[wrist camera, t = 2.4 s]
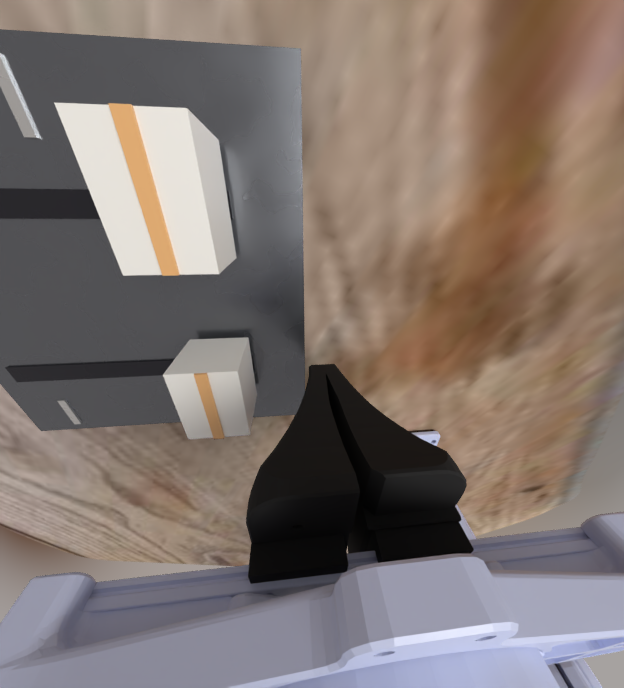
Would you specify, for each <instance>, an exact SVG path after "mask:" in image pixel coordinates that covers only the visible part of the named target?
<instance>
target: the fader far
mask: <svg viewBox="0 0 624 688" xmlns="http://www.w3.org/2000/svg"><path fill="white" fill-rule="evenodd" d="M163 377H164V379H165V382H166V384H167V387H168V389H169V392H170V395H171V397H172V400H173V402H174V405H175V407H176V410H177V412H178V415H179V417H180V420H181V422H182V425H183V427H184V430H185V432H186V435H187V437H188V439H202V438H214V439H224V438H225V437H230V436H244V435H250V433H251V427H252V421H253V415H254V409H255V403H256V397H257V391H256V385H255V378H254V371H253V365H252V358H251V351H250V345H249V338H248V337H244V338H217V339H190V340H189V341H188V342H187V344H186V345H185V346H184V348H183V349H182V350H181V352H180V353H179V354H178V356H177V357H176V358H175V359H174V361H173V362H172V363H171V365H170V366H169V367H168V369H167V370H166V371H165V373H164V374H163Z"/></svg>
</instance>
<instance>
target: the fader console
mask: <svg viewBox="0 0 624 688" xmlns="http://www.w3.org/2000/svg"><path fill="white" fill-rule="evenodd" d="M54 103H77V104H102V105H108V103H116V104H131V105H133V106H151V107H175V108H188V109H189V110H190V112H191V113H192V114H193V115H194V116H195V117H196V118H197V119H198V120H199V121H200V122H201V123H202V124H203V125H204V126H205V127H206V128H207V129H208V130H209V131H210V132H211V133H212V134H213V135H214V136H215V137H216V138H217V139H218V140H219V145H220V152H221V158H222V165H223V172H224V178H225V185H226V192H227V198H228V205H229V212H230V218H231V225H232V232H233V238H234V245H235V252H236V259H235V260H234V261H233V262H232V263H231V264H229V265H228V266H227V267H226V268H225V269H224V270H223V271H222V272H221V273H220V274H193V275H175V276H162V275H127V276H123V274H122V272H121V269H120V267H119V264H118V262H117V259H116V257H115V254H114V252H113V249H112V247H111V244H110V242H109V239H108V237H107V234H106V232H105V229H104V227H103V224H102V222H101V219H100V217H99V214H98V212H97V209H96V206H95V204H94V201H93V199H92V196H91V194H90V191H89V189H88V186H87V184H86V181H85V179H84V176H83V174H82V171H81V169H80V166H79V164H78V161H77V159H76V156H75V154H74V151H73V149H72V146H71V144H70V141H69V139H68V136H67V134H66V131H65V129H64V126H63V124H62V121H61V119H60V116H59V114H58V111H57V109H56V106H55V104H54ZM244 337H248V338H249V345H250V351H251V358H252V365H253V371H254V378H255V385H256V391H257V397H256V403H255V409H254V415H253V417H265V416H281V415H296V413H297V411H298V409H299V406H300V404H301V402H302V399H303V396H304V393H305V350H304V269H303V188H302V107H301V48H285V47H270V46H254V45H238V44H222V43H206V42H191V41H175V40H159V39H143V38H127V37H111V36H96V35H80V34H64V33H48V32H32V31H16V30H1V29H0V384H1V385H2V386H3V387H4V389H5V390H6V391H7V392H8V393H9V394H10V396H11V397H12V398H13V399H14V400H15V401H16V403H17V404H18V405H19V406H20V407H21V408H22V410H23V411H24V412H25V413H26V414H27V415H28V416H29V418H30V419H31V420H32V421H33V422H34V423H35V425H36V426H37V427H38V428H39V429H40V430H41V431H48V430H63V429H79V428H94V427H110V426H125V425H141V424H157V423H172V422H181V420H180V417H179V415H178V412H177V410H176V407H175V405H174V402H173V400H172V397H171V395H170V392H169V389H168V387H167V384H166V382H165V379H164V377H163V374H164V373H165V371H166V370H167V369H168V367H169V366H170V365H171V363H172V362H173V361H174V359H175V358H176V357H177V356H178V354H179V353H180V352H181V350H182V349H183V348H184V346H185V345H186V344H187V342H188V341H189V340H190V339H217V338H244Z"/></svg>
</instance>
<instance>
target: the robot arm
mask: <svg viewBox="0 0 624 688" xmlns="http://www.w3.org/2000/svg"><path fill="white" fill-rule="evenodd" d="M439 439H440V435H439V433H438V432H437V431H428V432H414V433H411V432H409V431H407V430H406V429H404V428H402V427H401V426H399V425H398V424H396V423H395V422H393V421H392V420H390V419H389V418H388V417H386V416H385V415H384V414H382V413H381V412H380V411H378V410H377V409H376V408H375V407H374V406H372V405H371V404H370V403H369V402H368V401H367V400H366V399H365V398H364V397H363V396H362V395H361V394H360V393H359V392H358V391H357V390H356V389H355V388H354V387H353V386H352V385H351V384H350V383H349V381H348V380H347V379H346V378H345V377H344V376H343V374H342V373H341V372H340V371H339V369H338V368H337V367H336V365H335V364H325V365H311V366H310V367H309V379H308V383H307V387H306V390H305V393H304V396H303V399H302V402H301V404H300V406H299V409H298V411H297V413H296V415H295V417H294V419H293V421H292V422H291V424H290V426H289V428H288V430H287V431H286V433H285V434H284V436H283V437H282V439H281V440H280V442H279V443H278V445H277V446H276V448H275V449H274V450H273V452H272V453H271V454H270V455H269V457H268V458H267V459H266V460H265V461H264V463H263V464H262V465H261V467H260V469H259V471H258V474H257V476H256V479H255V481H254V484H253V487H252V490H251V494H250V498H249V502H248V509H247V517H246V524H247V528H248V531H249V535H250V539H251V542H252V544H251V553H250V562H249V565H243V566H235V567H226V568H217V569H209V570H200V571H191V572H182V573H173V574H165V575H156V576H148V577H138V578H130V579H121V580H112V581H104V582H96V581H95V580H94V578H93V577H92V576H90V575H88V574H86V573H80V572H72V573H63V574H54V575H45V576H36V577H35V578H33V579H31V580H30V581H29V583H28V585H27V586H26V587H25V589H24V590H23V592H22V593H21V594H20V596H19V597H18V599H17V600H16V602H15V603H14V605H13V606H12V607H11V609H10V610H9V612H8V613H7V614H6V616H5V618H4V619H3V620H2V622H1V623H0V688H602V686H601V684H600V683H599V681H598V680H597V678H596V677H595V675H594V674H593V672H592V671H591V669H590V668H589V666H588V665H587V663H586V662H585V660H584V659H583V658H587V657H592V656H597V655H602V654H608V653H613V652H618V651H624V512H617V513H608V514H600V515H596V516H593V517H591V518H589V519H587V520H586V521H585V522H583V523H582V524H581V527H576V528H567V529H560V530H550V531H542V532H533V533H524V534H516V535H506V536H497V537H489V538H480V539H476V537H475V535H474V533H473V532H472V530H471V528H470V526H469V525H468V523H467V521H466V520H465V518H464V516H463V514H462V513H461V511H460V509H459V507H458V506H457V503H458V501H459V499H460V498H461V496H462V495H463V493H464V491H465V488H466V479H465V477H464V476H463V474H462V473H461V471H460V470H459V468H458V466H457V465H456V463H455V462H454V461H453V459H452V458H451V457H450V455H449V454H448V453H447V451H445V450H443V449H441V448H439V447H437V443H438V441H439ZM347 545H348V553H349V554H347V553H346V550H347Z"/></svg>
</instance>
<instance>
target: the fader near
mask: <svg viewBox="0 0 624 688" xmlns="http://www.w3.org/2000/svg"><path fill="white" fill-rule="evenodd" d="M54 104H55V106H56V109H57V111H58V114H59V116H60V119H61V121H62V124H63V126H64V129H65V131H66V134H67V136H68V139H69V141H70V144H71V146H72V149H73V151H74V154H75V156H76V159H77V161H78V164H79V166H80V169H81V171H82V174H83V176H84V179H85V181H86V184H87V186H88V189H89V191H90V194H91V196H92V199H93V201H94V204H95V206H96V209H97V212H98V214H99V217H100V219H101V222H102V224H103V227H104V229H105V232H106V234H107V237H108V239H109V242H110V244H111V247H112V249H113V252H114V254H115V257H116V259H117V262H118V264H119V267H120V269H121V272H122V274H123V276H127V275H162V276H175V275H193V274H220V273H221V272H222V271H223V270H224V269H225V268H226V267H227V266H228V265H229V264H231V263H232V262H233V261H234V260H235V259H236V252H235V245H234V238H233V232H232V225H231V218H230V212H229V205H228V198H227V192H226V185H225V178H224V172H223V165H222V158H221V152H220V145H219V140H218V139H217V138H216V137H215V136H214V135H213V134H212V133H211V132H210V131H209V130H208V129H207V128H206V127H205V126H204V125H203V124H202V123H201V122H200V121H199V120H198V119H197V118H196V117H195V116H194V115H193V114H192V113H191V112H190V110H189V109H188V108H175V107H151V106H133V105H131V104H116V103H108V105H102V104H77V103H54Z"/></svg>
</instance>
